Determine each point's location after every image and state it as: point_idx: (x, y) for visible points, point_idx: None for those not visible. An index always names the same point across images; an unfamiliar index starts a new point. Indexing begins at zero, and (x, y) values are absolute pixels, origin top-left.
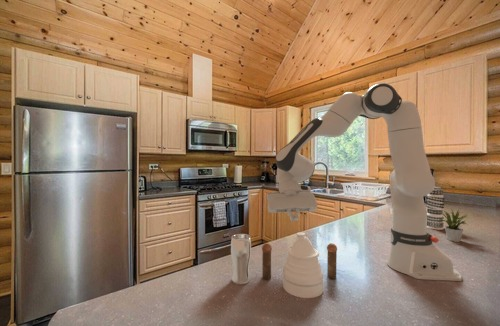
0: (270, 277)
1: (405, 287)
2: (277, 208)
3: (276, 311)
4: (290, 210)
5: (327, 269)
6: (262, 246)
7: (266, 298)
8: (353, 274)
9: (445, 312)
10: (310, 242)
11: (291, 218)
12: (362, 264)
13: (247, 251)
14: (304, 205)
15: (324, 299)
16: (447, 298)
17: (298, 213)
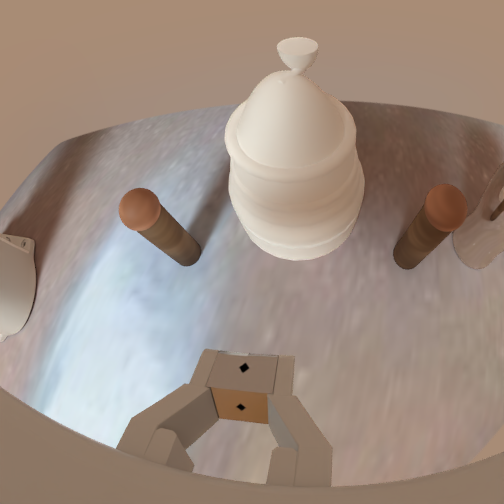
0: (396, 245)
1: (70, 209)
2: (488, 458)
3: (374, 121)
4: (273, 456)
5: (190, 245)
6: (466, 205)
7: (399, 158)
8: (121, 269)
9: (85, 147)
10: (253, 90)
11: (290, 357)
12: (70, 326)
13: (499, 166)
14: (29, 429)
15: None
16: (51, 182)
17: (171, 395)
